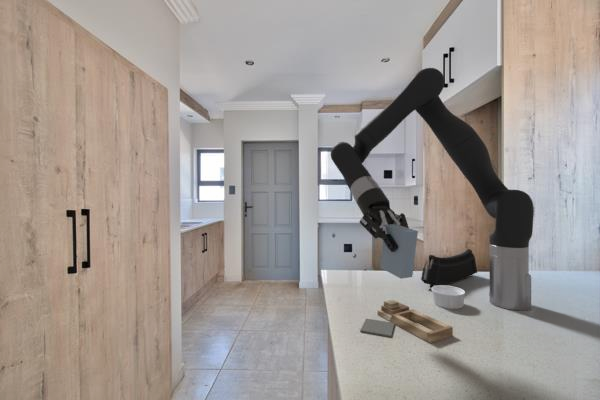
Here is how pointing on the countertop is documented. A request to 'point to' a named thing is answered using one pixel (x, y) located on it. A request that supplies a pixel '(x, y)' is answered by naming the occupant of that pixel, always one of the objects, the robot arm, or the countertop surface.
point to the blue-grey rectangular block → (400, 252)
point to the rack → (402, 319)
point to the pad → (377, 327)
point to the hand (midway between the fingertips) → (401, 249)
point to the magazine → (449, 268)
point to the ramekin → (448, 296)
